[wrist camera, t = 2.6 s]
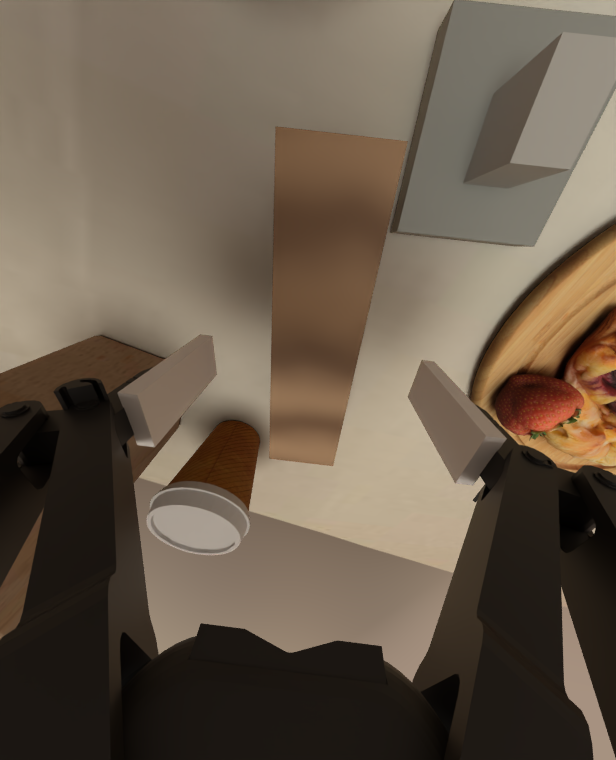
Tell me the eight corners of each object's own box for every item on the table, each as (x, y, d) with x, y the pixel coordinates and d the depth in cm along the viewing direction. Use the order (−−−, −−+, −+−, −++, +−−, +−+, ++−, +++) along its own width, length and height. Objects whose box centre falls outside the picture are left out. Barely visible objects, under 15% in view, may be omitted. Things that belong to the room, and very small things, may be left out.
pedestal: (438, 30, 13) (518, -122, 8) (609, 48, 13) (812, -92, 8) (390, 232, 19) (418, 227, 13) (514, 246, 19) (596, 247, 13)
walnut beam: (295, 173, 17) (275, 126, 10) (374, 182, 17) (407, 141, 10) (282, 406, 29) (269, 458, 22) (330, 412, 28) (332, 466, 22)
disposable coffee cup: (248, 470, 35) (216, 566, 24) (190, 439, 32) (127, 531, 22) (285, 436, 31) (265, 533, 20) (223, 397, 28) (163, 485, 18)
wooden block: (97, 332, 25) (-423, 533, 8) (190, 367, 26) (-68, 601, 9) (102, 401, 30) (-207, 618, 12) (180, 427, 31) (0, 654, 14)
